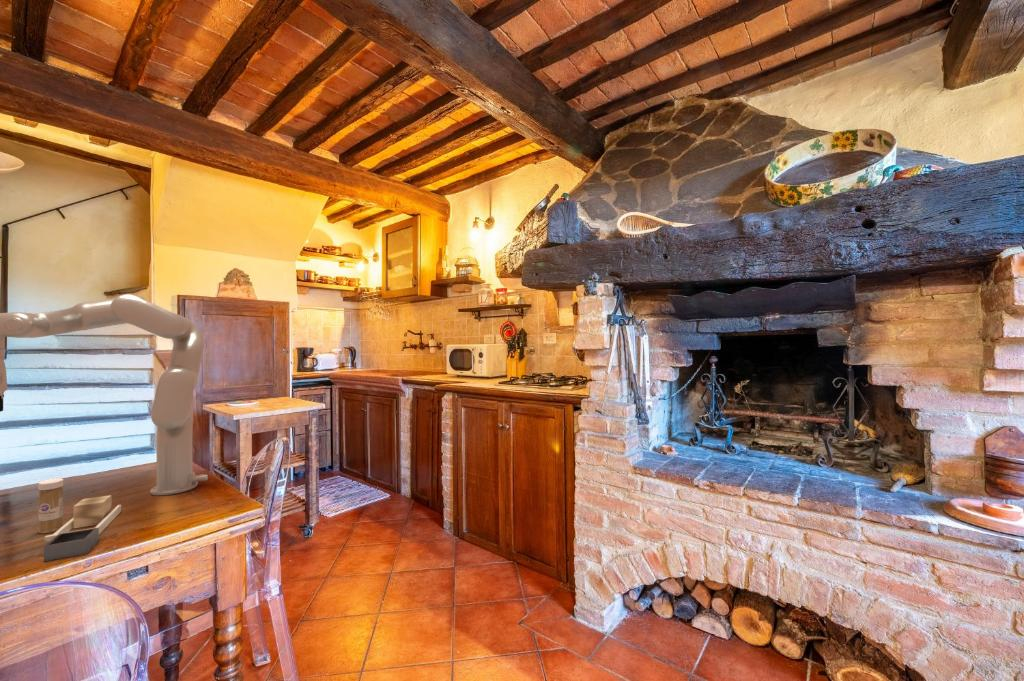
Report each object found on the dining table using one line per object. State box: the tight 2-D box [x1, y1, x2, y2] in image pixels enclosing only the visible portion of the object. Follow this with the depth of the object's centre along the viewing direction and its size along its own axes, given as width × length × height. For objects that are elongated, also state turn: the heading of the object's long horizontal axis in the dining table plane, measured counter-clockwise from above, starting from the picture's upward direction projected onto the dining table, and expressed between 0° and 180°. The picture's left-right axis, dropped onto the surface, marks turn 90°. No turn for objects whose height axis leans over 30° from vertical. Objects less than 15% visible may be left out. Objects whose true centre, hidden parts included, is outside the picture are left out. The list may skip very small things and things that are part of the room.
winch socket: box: [43, 527, 100, 562], centre depth 100 cm, size 7×7×4 cm
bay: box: [44, 504, 122, 546], centre depth 112 cm, size 9×21×3 cm, turn 29°
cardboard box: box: [73, 494, 112, 529], centre depth 116 cm, size 6×6×6 cm
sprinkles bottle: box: [37, 477, 65, 534], centre depth 111 cm, size 5×5×14 cm
